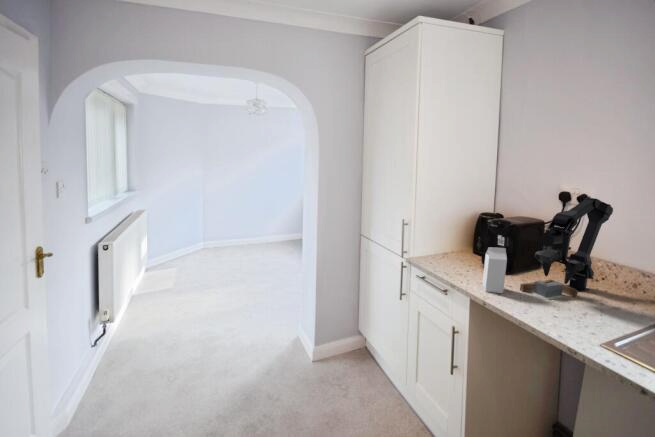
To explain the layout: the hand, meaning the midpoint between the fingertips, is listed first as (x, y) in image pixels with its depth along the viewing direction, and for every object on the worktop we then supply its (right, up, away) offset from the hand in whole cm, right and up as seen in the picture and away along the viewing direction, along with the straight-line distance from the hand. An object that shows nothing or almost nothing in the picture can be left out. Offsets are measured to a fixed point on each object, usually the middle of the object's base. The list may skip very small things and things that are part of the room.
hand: (555, 279), depth 157 cm
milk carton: (-24, -6, +6) cm, 25 cm away
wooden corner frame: (-2, -7, +2) cm, 7 cm away
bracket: (-2, -6, +2) cm, 7 cm away
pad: (-2, -7, +2) cm, 7 cm away
